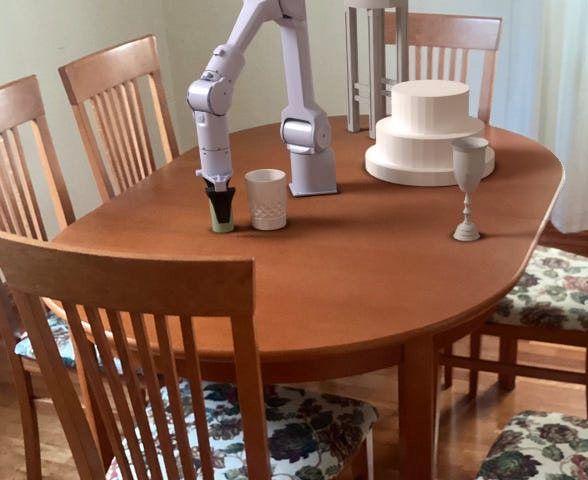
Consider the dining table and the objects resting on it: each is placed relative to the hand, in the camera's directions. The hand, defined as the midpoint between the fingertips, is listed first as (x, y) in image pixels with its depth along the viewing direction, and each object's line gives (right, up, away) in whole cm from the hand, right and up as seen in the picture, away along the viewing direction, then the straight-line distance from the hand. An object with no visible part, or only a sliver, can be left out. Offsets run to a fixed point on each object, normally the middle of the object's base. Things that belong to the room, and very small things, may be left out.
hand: (222, 216), depth 179 cm
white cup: (+9, -1, +3) cm, 9 cm away
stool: (+29, +34, +62) cm, 77 cm away
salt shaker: (0, -2, +1) cm, 3 cm away
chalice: (+47, -5, -3) cm, 48 cm away
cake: (+42, +19, +36) cm, 58 cm away
